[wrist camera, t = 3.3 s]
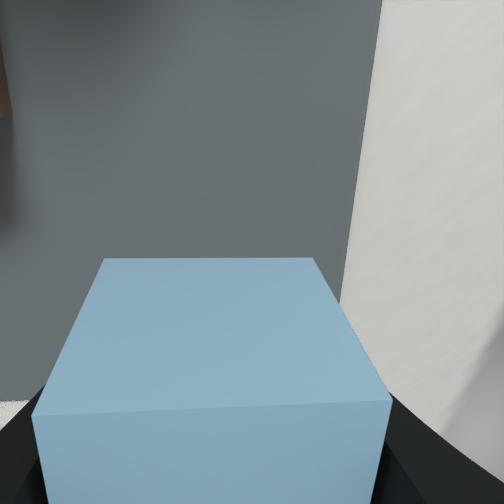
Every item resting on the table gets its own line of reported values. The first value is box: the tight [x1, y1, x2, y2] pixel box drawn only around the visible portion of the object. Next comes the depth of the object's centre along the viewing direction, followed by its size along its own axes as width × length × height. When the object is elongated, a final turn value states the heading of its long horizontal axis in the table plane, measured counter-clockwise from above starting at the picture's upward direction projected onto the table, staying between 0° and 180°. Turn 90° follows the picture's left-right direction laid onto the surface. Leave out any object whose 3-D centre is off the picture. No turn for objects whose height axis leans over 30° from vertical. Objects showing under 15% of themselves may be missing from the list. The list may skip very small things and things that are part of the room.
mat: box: [0, 0, 382, 401], centre depth 17 cm, size 24×22×1 cm
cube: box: [31, 258, 393, 504], centre depth 9 cm, size 5×5×5 cm
